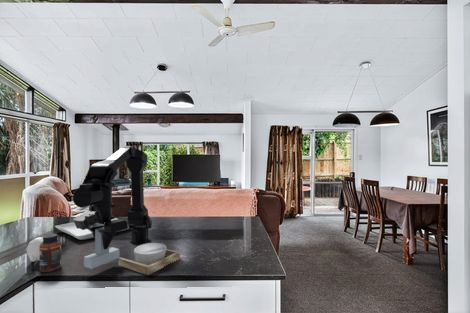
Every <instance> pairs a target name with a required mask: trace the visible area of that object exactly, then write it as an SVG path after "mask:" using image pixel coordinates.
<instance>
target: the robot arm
mask: <svg viewBox="0 0 470 313" xmlns="http://www.w3.org/2000/svg"><path fill="white" fill-rule="evenodd" d="M148 159H149V158H148V155H147V154H146V152H144V151H142V150H140V149H138V148H136V147H135V146H132V145H122V146H120V147H119V149H118V150H116V151H115V152H114V153H113V154H111V156H109V157H108V158H107V159H105V160H102V161H101V160H100V161H97V162H95V163H93V164H91V165H90V166H89V169H88V170H87V173H86V175H85V177H84V180H83V181H82V184H79V185H78V186H79V188H78V189H77V190H75V192H73V196H72V202H73V203H74V205H75V206H76V207H77V208H81V209H82V208H87V207H88V210H87V211H86V212H83V213H81V214H79V215H77V216H76V217H74V218H73V222H74V223H75V225H76V228H77V229H78V228H79V229H82V230H85V229H88V230H89V231H91V232H92V234H93V236H94V238H93V239H94V240H95V229H99V228H102V227H104V228H103V230H99V231H98V232H100V233H101V234H102V239H103V247H104V250H106V249H108V247H109V248H110V245H111V243H112V240H113V238H114V236H116V233H118V232H117V231H119V232H122V231H121V230H123V231H125V230H124V229H126V230H130V229H131V231H132V232H131V240H130V241H129V243H132V244H136V245H143V244H146V243H147V242H148V243H149V242H150V241H152V239H151V238H149V229H151V228H152V226H153V220H152V219H151V217H150V215H149V209H148V208H147V207H146V206H145V201H144V200H145V199H144V198H145V196H144V195H145V194H144V171H145V170H146V167H147V164H148ZM125 163H126V164H125ZM124 164H125V165H126V168H127V170H128V171H129V172H130V180H131V181H130V182H131V183H130V184H131V186H130V187H131V207H130V209H129V210H128V211H127V220H126V219H121V218H117V219H116V220H113V219H115V218H116V216H115V215H113V208H115V206H116V204H115V203H113V187H115V186H116V184H115V183H114V182H113V180H115V178H116V176H117V175H118V169H119V168H120V167H122V165H124ZM111 220H112V221H111ZM128 226H129V229H128Z"/></svg>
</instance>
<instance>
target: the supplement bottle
mask: <svg viewBox="0 0 470 313" xmlns="http://www.w3.org/2000/svg"><path fill="white" fill-rule="evenodd" d="M42 237H43V242H42V243H41V244H40V247H39V249H40V250H39V252H40V253H39V254H40V261H39V271H40V272H41V273H51V272H54V271H57V270H58V269H60V268H61V266H62V242H61V240H59V239H58V234H57V233H51V234H50V233H49V234H46V235H45V234H44V235H43V236H42Z"/></svg>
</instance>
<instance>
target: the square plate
mask: <svg viewBox="0 0 470 313" xmlns="http://www.w3.org/2000/svg"><path fill="white" fill-rule="evenodd" d="M116 219H118V218H116V217H115V219H113V220H116ZM111 221H112V220H111ZM54 227H55V228H56V229H57V230H59V231H61V232H62V233H65V234H68V235H70V236H72V237H74V238H76V239H77V240H80V241H81V240H82V241H84V240H89V239H94V236H93V234H92V232H91V231H89V230H88V229H85V230H82V229H79V228H78V229H77V228H76V225H75V223H74V221H73V222H68V223H64V224H63V223H62V224H58V225H54ZM126 230H130V229H129V226H128V229H124V230H121V231H117V232H116V233H118V232H119V233H120V232H122V231H123V232H124V231H126Z"/></svg>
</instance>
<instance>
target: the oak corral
mask: <svg viewBox="0 0 470 313" xmlns="http://www.w3.org/2000/svg"><path fill="white" fill-rule="evenodd" d="M180 255H181V253H180V251H177V250H172V249H169V248H167V249H166V253H165V256H166V257H165V258H163V259H161V260H159V261H157V262H155V263H153V264H151V265H149V266H148V265H145V264H141V263H138V262H136V260H135V261H134V260H131V259H127V258H125V257H124V258H123V257H119V258H118V266H119V267H121V268H125V269H128V270H131V271H134V272H138V273H140V274H144V275H146V276H149V275H151V274H154V273H155V272H157V271H160V270H161V269H164V268H165V267H167V266H169V265H170V263H171V264H172V262H173V263H175V262H177V261H179V260H180V259H181V256H180ZM176 260H177V261H176ZM174 261H175V262H174ZM168 264H169V265H168ZM166 265H167V266H166ZM164 266H165V267H164Z"/></svg>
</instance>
